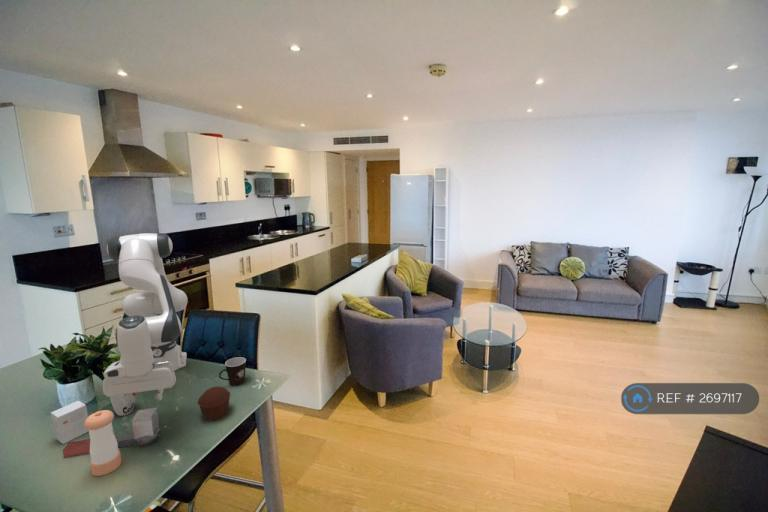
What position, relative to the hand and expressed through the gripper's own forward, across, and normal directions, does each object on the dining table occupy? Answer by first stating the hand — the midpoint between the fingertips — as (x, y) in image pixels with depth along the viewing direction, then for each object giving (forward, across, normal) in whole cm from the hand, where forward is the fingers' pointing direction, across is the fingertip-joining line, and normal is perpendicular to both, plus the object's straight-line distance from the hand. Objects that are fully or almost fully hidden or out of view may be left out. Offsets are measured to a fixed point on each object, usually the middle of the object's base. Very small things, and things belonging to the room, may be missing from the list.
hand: (143, 401), depth 116 cm
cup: (+15, +14, -19) cm, 28 cm away
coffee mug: (+15, -24, -29) cm, 41 cm away
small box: (+15, +26, -9) cm, 31 cm away
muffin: (+15, -20, -8) cm, 26 cm away
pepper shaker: (+14, +8, +11) cm, 20 cm away
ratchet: (+14, +10, +1) cm, 17 cm away
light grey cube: (+11, 0, +1) cm, 11 cm away
